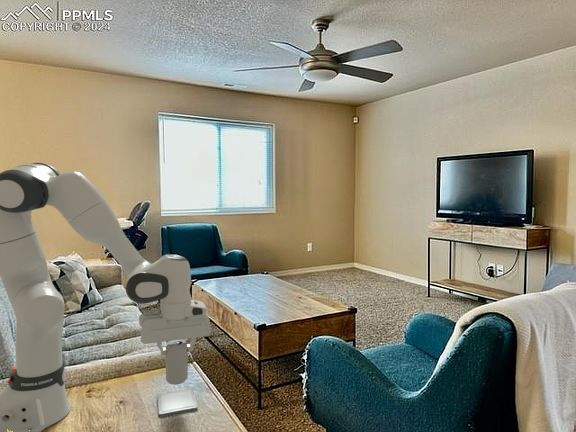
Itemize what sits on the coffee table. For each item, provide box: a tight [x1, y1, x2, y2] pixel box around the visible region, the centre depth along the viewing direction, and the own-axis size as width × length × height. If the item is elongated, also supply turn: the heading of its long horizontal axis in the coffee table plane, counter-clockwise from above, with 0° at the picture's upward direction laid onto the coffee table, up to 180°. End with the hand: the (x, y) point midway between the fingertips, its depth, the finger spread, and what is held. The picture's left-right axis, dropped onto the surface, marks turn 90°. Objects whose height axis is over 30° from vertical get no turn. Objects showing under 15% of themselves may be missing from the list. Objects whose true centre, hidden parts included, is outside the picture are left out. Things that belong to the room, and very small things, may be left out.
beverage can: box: [164, 339, 189, 385], centre depth 119 cm, size 6×6×12 cm
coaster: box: [157, 387, 198, 418], centre depth 120 cm, size 11×11×1 cm
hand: (176, 352), depth 119 cm, fingers closed on beverage can, 6 cm apart
